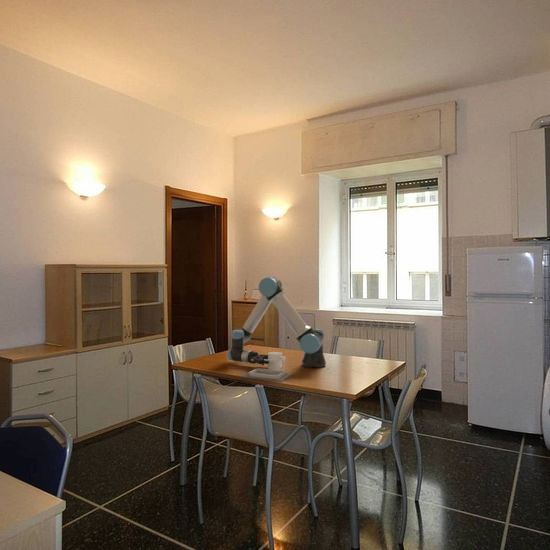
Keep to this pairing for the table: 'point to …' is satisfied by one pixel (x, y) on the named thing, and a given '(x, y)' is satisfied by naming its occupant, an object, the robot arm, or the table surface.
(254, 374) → the rail plate
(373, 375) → the table surface
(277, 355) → the cup
